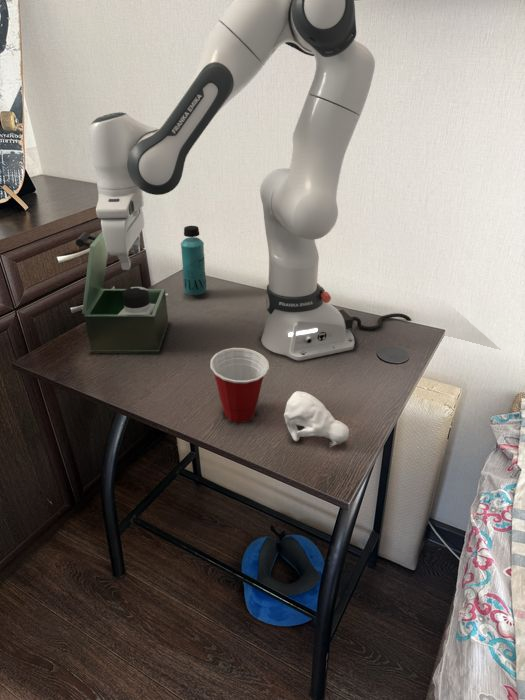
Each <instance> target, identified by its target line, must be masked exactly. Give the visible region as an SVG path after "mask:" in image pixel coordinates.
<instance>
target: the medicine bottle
mask: <svg viewBox="0 0 525 700" xmlns="http://www.w3.org/2000/svg"><path fill="white" fill-rule="evenodd" d="M125 289H126V290H125V291H124V292H123V293H122V296H123V302H124V309H123V310H122V311H121V312H120V313H119V314H118V315H152V312H153V310H154V307H155V305H156V304H150V298H149V291H148V290H147V289H148V288H146V287H144V286H131V287H128V288H125Z"/></svg>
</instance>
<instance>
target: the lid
mask: <svg viewBox="0 0 525 700" xmlns="http://www.w3.org/2000/svg"><path fill="white" fill-rule="evenodd" d="M90 240H91V241H92V242H89V241H90ZM75 245H76V246H77V247H79V248H83V247H88V248H89V252H88V259H87V260H88V261H87V269H86V270H87V271H86V277H85V285H84V293H83V302H82V303H83V304H82V310H81V311H82V312H81V314H82V315H86V313H87V312H88V310H89V309H90V307H91V305H92V304H93V302H94V301H95V299H96V298H97V296H98V295H99V293H100V292H101V290H102V289H104V285H105V277H106V270H107V263H108V254H109V253H108V251H107V248H106V244H105V240H104V236H103V232H102V231H101V232H100V233H99V235H97V236H95V235H91V233H90V232H88V231H84V232H83V233H82V234H81V235H80V236H78V238H77V239H76V240H75Z"/></svg>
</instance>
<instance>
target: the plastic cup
mask: <svg viewBox="0 0 525 700" xmlns="http://www.w3.org/2000/svg"><path fill="white" fill-rule="evenodd" d="M269 369H270V366H269V360H268V359H267V358H266V357H265V355H263V354H261V353H260V352H258V351H256V350H254V349H250V348H247V347H246V348H245V347H231V348H226V349H222V350H220V351H218V352H216V353H215V354H214V355H213V356H212V358H211V359H210V370H211V371H212V373H213V376H214V379H215V381H216V386H217V390H218V391H217V392H218V394H219V398H220V403H221V405H222V410H223V414H224V415H225V417H226V418H227V420H229V421H231V422H233V423H245V422H249V421H250V420H251V419H253V417H254V415H255V413H256V409H257V404H258V401H259V396H260V394H261V393H260V392H261V388H262V383H263V380H264V377H265V376H266V375H267V373H268V371H269Z"/></svg>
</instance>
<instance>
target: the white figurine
mask: <svg viewBox="0 0 525 700" xmlns="http://www.w3.org/2000/svg"><path fill="white" fill-rule="evenodd" d="M283 417H284V421H285V425H286V426H287V429H288V432H289V434H290V435H291V438H292V439H293V441H295V442H298V441H299V440H300V437H302V438H309V437H317V438H318V437H319V438H322V437H324V438H327V439H329V440H330V441H331V443H329V444H328V445H329V448H331V447H334V446H336V445H341V444H342V443H344V442H346V441H347V440H348V439H349V436H350V430H349V427H348V425H346V424H345V423H343V421H340V420H337V419H335V417H334V416H333V415H332V413H331V412H330V411H329V410H328V409H327V408H326V406H325V404H324V403H322V402H321V400H319V399H317V397H315V396H314V395H312V394H310V393H308V392H307V391H300V390H296V391H295V392H293V393H292V394H291V396H290V398H288V399H287V402H286V404H285V408H284V413H283ZM298 426H299V427H303V428H302V429H300V430H299V428H298Z"/></svg>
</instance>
